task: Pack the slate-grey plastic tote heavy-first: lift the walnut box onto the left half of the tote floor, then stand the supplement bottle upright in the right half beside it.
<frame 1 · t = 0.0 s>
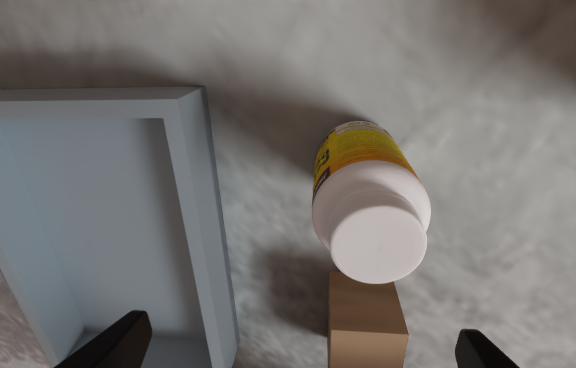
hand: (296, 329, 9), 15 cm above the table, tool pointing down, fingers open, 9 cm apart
walnut box: (357, 307, 28), on the table
tote: (133, 234, 27), on the table
supplement bottle: (354, 157, 22), on the table
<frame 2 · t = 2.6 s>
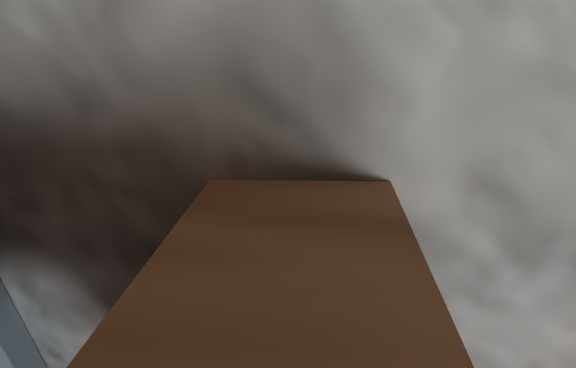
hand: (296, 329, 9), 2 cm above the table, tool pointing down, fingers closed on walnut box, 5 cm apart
walnut box: (299, 290, 11), on the table, touching gripper
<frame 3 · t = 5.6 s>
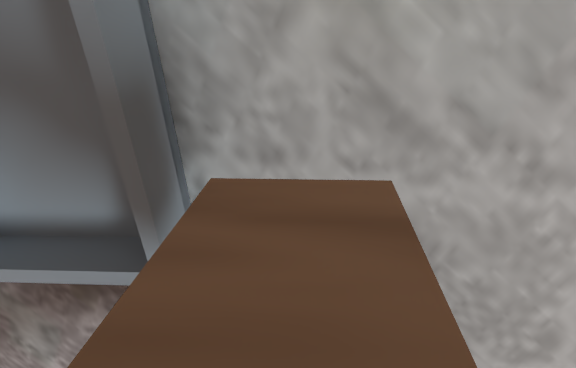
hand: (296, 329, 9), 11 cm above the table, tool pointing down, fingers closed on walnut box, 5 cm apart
walnut box: (300, 289, 11), point 10 cm above the table, touching gripper
tote: (27, 66, 18), on the table
when the fingers open (4 cm above the table, at t = 8.9 s): walnut box drops 1 cm, resting on tote.
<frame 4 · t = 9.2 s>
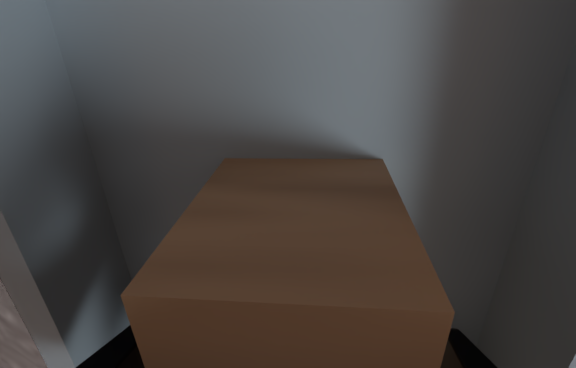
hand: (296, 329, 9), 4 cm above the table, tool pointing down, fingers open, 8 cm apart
walnut box: (303, 260, 12), point 1 cm above the table, touching tote
tote: (301, 90, 10), on the table
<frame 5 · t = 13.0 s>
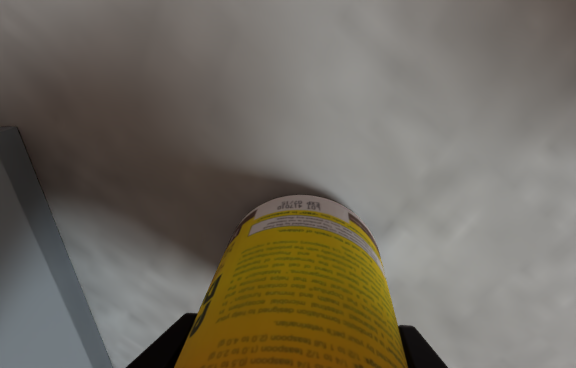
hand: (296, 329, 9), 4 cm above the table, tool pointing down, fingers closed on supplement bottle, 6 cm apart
supplement bottle: (303, 249, 13), on the table, touching gripper
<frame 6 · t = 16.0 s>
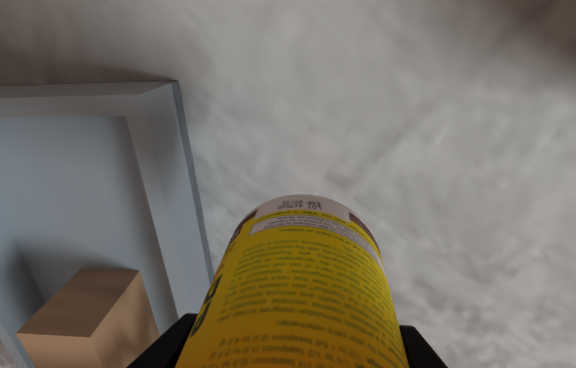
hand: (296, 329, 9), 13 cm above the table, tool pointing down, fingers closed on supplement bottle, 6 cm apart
walnut box: (123, 307, 27), point 1 cm above the table, touching tote
tote: (109, 242, 25), on the table
supplement bottle: (304, 249, 13), point 9 cm above the table, touching gripper
when the fingers open (6 cm above the table, at t = 19.2 s): supplement bottle drops 1 cm, resting on tote.
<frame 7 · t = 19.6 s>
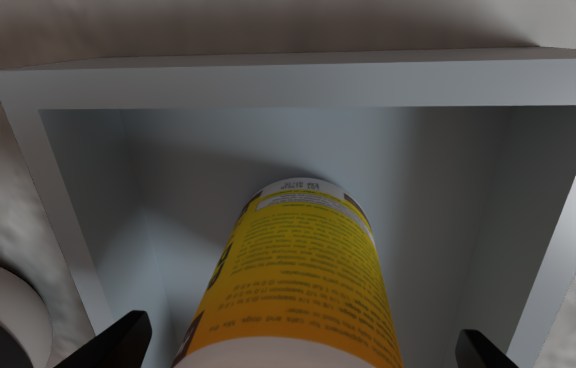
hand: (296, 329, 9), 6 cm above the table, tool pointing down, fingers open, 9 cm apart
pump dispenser: (4, 294, 19), on the table
tote: (306, 300, 17), on the table
supplement bottle: (303, 228, 14), point 1 cm above the table, touching tote
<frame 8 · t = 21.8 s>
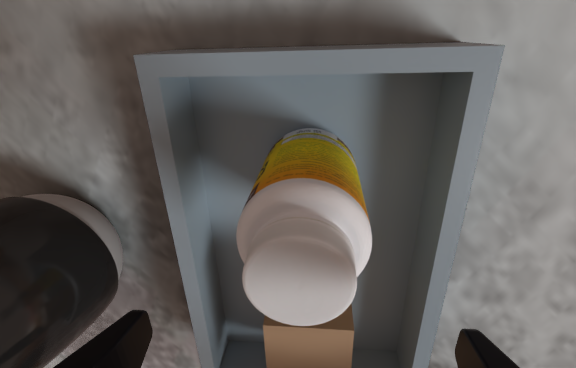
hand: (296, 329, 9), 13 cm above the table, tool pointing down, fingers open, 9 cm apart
walnut box: (311, 300, 25), point 1 cm above the table, touching tote
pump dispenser: (83, 230, 25), on the table
tote: (311, 227, 23), on the table
supplement bottle: (310, 167, 20), point 1 cm above the table, touching tote
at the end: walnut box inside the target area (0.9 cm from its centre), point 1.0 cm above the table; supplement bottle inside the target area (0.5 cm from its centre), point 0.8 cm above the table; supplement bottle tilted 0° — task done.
